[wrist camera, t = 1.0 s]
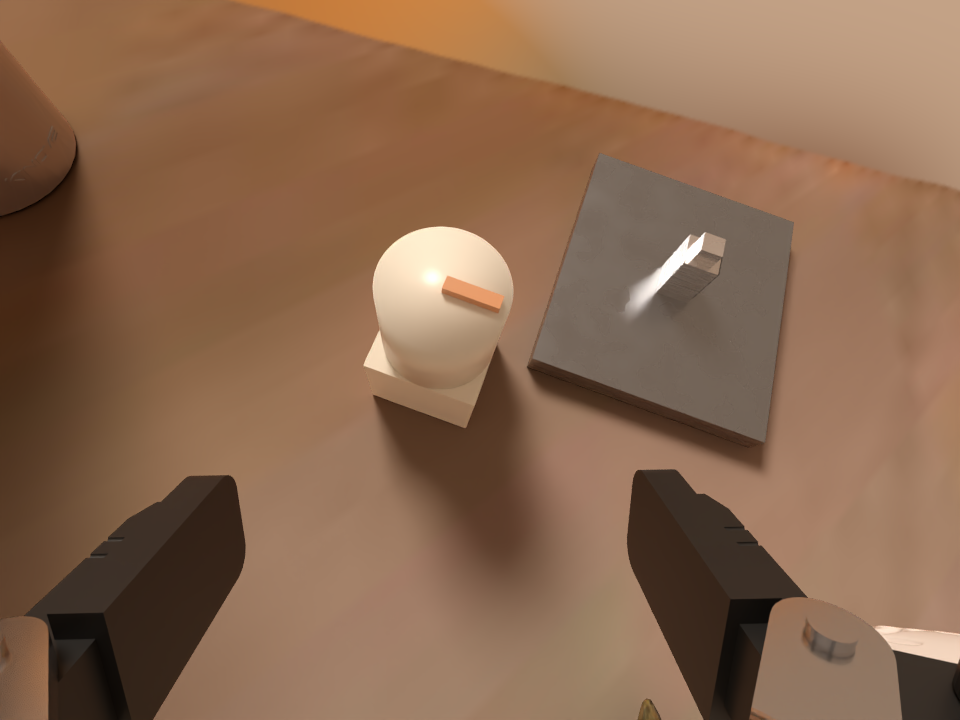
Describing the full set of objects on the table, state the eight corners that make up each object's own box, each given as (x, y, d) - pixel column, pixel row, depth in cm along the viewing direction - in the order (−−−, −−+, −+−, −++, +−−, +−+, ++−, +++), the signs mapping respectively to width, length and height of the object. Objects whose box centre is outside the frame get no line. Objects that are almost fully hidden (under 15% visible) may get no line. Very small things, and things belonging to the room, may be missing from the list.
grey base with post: (527, 366, 30) (551, 326, 24) (592, 168, 36) (624, 98, 30) (748, 447, 30) (824, 425, 24) (779, 234, 36) (846, 177, 30)
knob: (372, 394, 28) (347, 317, 19) (409, 311, 30) (404, 202, 21) (465, 428, 28) (489, 369, 19) (496, 342, 30) (532, 248, 21)
